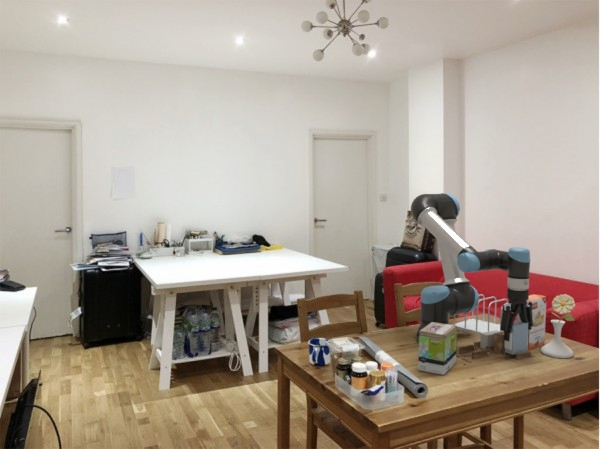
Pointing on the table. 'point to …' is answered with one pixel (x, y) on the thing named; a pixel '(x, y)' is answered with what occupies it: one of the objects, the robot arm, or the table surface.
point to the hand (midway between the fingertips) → (516, 347)
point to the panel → (519, 338)
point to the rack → (506, 355)
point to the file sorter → (480, 325)
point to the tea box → (437, 348)
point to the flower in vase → (556, 345)
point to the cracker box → (537, 321)
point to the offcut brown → (499, 342)
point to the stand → (471, 353)
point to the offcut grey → (487, 339)
